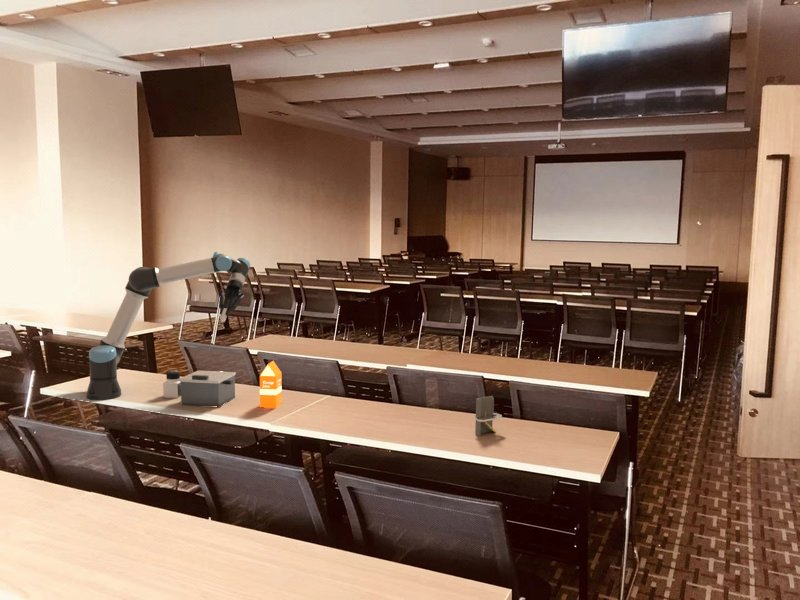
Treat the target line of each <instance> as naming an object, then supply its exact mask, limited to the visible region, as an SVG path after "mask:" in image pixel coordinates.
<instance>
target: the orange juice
mask: <svg viewBox="0 0 800 600" xmlns="http://www.w3.org/2000/svg"><path fill="white" fill-rule="evenodd" d="M282 374H283V373H282V371H281V370H280V368H279V367H278V365H277V364H276V363H275V360H272V361H270V362H269V363H268V364H267V365H266V366H265V368H264V369H263V370H262V372H261V373H260V375H259V408H261V407H264V408H265V409H277V408H278V407H279V406H281V403H282V402H283V399H282V398H283V395H282V393H283V391H282V389H283V388H282V378H283V376H282ZM264 408H263V409H264ZM261 409H262V408H261Z"/></svg>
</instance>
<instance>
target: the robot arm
mask: <svg viewBox="0 0 800 600" xmlns="http://www.w3.org/2000/svg"><path fill="white" fill-rule="evenodd" d="M250 267H251V262H250V261H249V260H248V259H247V258H245V257H238V258H237V259H235V258H233V257H230V256H228V255H227V254H224V253H222V252H219V251H214V252H213V255H212V257H209V258H205V259H204V258H203V259H199V260H194V261H189V262H184V263H179V264H176V265H171V266H164V267H161V268H158V267H156V266H155V267H151V268H150V267H147V266H139V267H137V268H135V269H133V270H132V271H131V272H130V274H129V276H128V281H127V283H126V285H125V288H124V290H125V296H124V298H123V299H122V303H121V304H120V306H119V309H118V311H117V312H116V315H115V317H114V320H113V322H112V324H111V326H110V328H109V330H108V332H107V334H106V336H104V337H102V338H101V339H100V341H99V343H98V346H93V347H91V349H89V352H88V358H89V359H88V361H89V365H88V366H89V384H88V386H87V390H86V399H87V400H93V401H94V400H95V401H96V400H97V401H98V400H99V401H100V400H101V401H103V400H111V399H115V397H116V398H118V396H119V397H121V396H122V388H121V387H120V383H119V381H118V376H117V375H118V373H117V372H118V371H117V366H118V364H119V363H120V361H121V359H122V355H123V353H124V351H125V348H126V346H125V341H126V338H127V336H128V335H129V333H130V330H131V328H132V325H133V323H134V321H135V319H136V317H137V315H138V313H139V312H140V311H139V310H140V308H141V307H142V304H143V302H144V300H146V299H149V296H150V294H151V292H152V291H153V289H155V288H160V287H161V286H162V285H164V284H168V283H172V282H177V281H183V280H187V279H192V278H196V277H200V276H205V275H209V274H214V273H220V272H227V273H229V274H230V277H229V279H228V282H227V285H226V289H225V290H224V291H223V292H219V293H218V294H219V303H218V307H219V309H220V318H219V319H220V321H221V323H225V322H226V320H227V317H229V315H230V313H231V311H235V310H236V309H237V307H238V305H239V304H240V302H241V301H242V300H243V299H245V295H244V293H243V292H242V290H243V288H244V285H245V281H246V279H247V276H248V274H249V271H250ZM120 395H121V396H120ZM110 398H111V399H110Z"/></svg>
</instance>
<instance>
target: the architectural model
mask: <svg viewBox="0 0 800 600" xmlns="http://www.w3.org/2000/svg"><path fill="white" fill-rule="evenodd" d="M494 403H495V398H494V396H493V395H491V396H490V395H489V396H483V397H479V398H475V415H473V419H474V420H475V430H474V431H475V436H479V437H481V435H482V434H484V433H489V432H493V433H495V434H496V432H497V430H495V429H494V428H493V422H494V421H495V420H499V419H501V418H503V415H502V414H500V413H497V412H494V409H495V404H494Z"/></svg>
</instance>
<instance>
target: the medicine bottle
mask: <svg viewBox="0 0 800 600" xmlns="http://www.w3.org/2000/svg"><path fill="white" fill-rule="evenodd" d="M180 378H181V372H180V371H178V370H169V371H167V372H166V381H165V382H163V384H162V385H163V386H162V388H163V389H162V391H163V398H164V397H166V398H169V399H173V398H174V399H178V398H181V382H179V379H180Z"/></svg>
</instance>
